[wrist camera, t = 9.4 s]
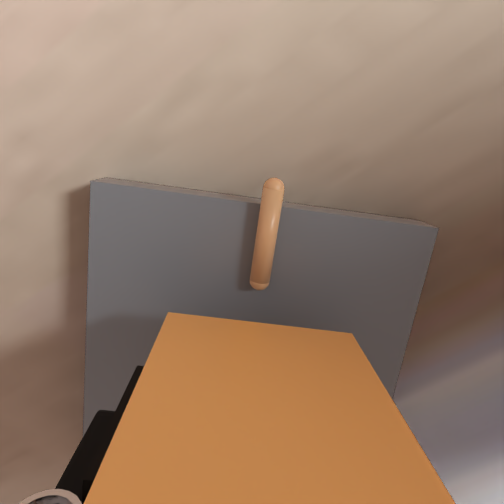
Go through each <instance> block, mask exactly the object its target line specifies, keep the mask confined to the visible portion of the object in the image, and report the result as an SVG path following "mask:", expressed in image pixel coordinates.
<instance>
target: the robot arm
mask: <svg viewBox="0 0 504 504" xmlns="http://www.w3.org/2000/svg"><path fill="white" fill-rule="evenodd" d="M143 368H144V366H139V365H138V366H137V367H136V369H135V371H134V373H133V375H132V377H131V379H130V381H129V383H128V385H127V387H126V390H125V392H124V394H123V396H122V398H121V400H120V402H119V404H118V406H117V409H116V411H109V410H99V411H98V412H97V413H96V415H95V416H94V418H93V420H92V422H91V424H90V425H89V427H88V429H87V431H86V433H85V435H84V436H83V438H82V440H81V442H80V444H79V446H78V447H77V449H76V451H75V453H74V455H73V457H72V459H71V460H70V462H69V464H68V466H67V468H66V470H65V471H64V473H63V475H62V477H61V479H60V481H59V482H58V484H57V486H56V488H55V489H48V490H44V491H41V492H37V493H35V494H33V495H31V496H29V497H27V498H25V499H24V500H22V501H21V502H20V503H19V504H84V502H85V500H86V497H87V495H88V493H89V490H90V488H91V486H92V484H93V481H94V479H95V477H96V475H97V472H98V470H99V468H100V465H101V463H102V461H103V459H104V456H105V454H106V452H107V450H108V447H109V445H110V443H111V441H112V438H113V436H114V434H115V431H116V429H117V427H118V425H119V422H120V420H121V418H122V416H123V413H124V411H125V409H126V406H127V404H128V402H129V400H130V397H131V395H132V393H133V391H134V388H135V386H136V384H137V382H138V379H139V377H140V375H141V372H142V370H143Z"/></svg>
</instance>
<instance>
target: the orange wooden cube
mask: <svg viewBox="0 0 504 504" xmlns="http://www.w3.org/2000/svg"><path fill="white" fill-rule="evenodd" d="M84 504H455V502H454V500H453V499H452V497H451V495H450V494H449V492H448V491H447V489H446V487H445V486H444V484H443V482H442V481H441V479H440V477H439V476H438V474H437V472H436V471H435V469H434V468H433V466H432V464H431V463H430V461H429V459H428V458H427V456H426V454H425V453H424V451H423V449H422V448H421V446H420V444H419V443H418V441H417V440H416V438H415V436H414V435H413V433H412V431H411V430H410V428H409V426H408V425H407V423H406V421H405V420H404V418H403V416H402V415H401V413H400V412H399V410H398V408H397V407H396V405H395V403H394V402H393V400H392V398H391V397H390V395H389V393H388V392H387V390H386V388H385V387H384V385H383V384H382V382H381V380H380V379H379V377H378V375H377V374H376V372H375V370H374V369H373V367H372V365H371V364H370V362H369V360H368V359H367V357H366V356H365V354H364V352H363V351H362V349H361V347H360V346H359V344H358V342H357V341H356V339H355V337H354V336H353V334H352V333H345V332H336V331H328V330H319V329H311V328H302V327H293V326H285V325H276V324H267V323H259V322H250V321H241V320H233V319H224V318H215V317H207V316H198V315H189V314H181V313H172V312H168V313H167V316H166V318H165V320H164V322H163V325H162V327H161V329H160V332H159V334H158V336H157V338H156V341H155V343H154V345H153V347H152V350H151V352H150V354H149V357H148V359H147V361H146V363H145V366H144V368H143V370H142V372H141V375H140V377H139V379H138V382H137V384H136V386H135V388H134V391H133V393H132V395H131V397H130V400H129V402H128V404H127V406H126V409H125V411H124V413H123V416H122V418H121V420H120V422H119V425H118V427H117V429H116V431H115V434H114V436H113V438H112V441H111V443H110V445H109V447H108V450H107V452H106V454H105V456H104V459H103V461H102V463H101V465H100V468H99V470H98V472H97V475H96V477H95V479H94V481H93V484H92V486H91V488H90V490H89V493H88V495H87V497H86V500H85V502H84Z"/></svg>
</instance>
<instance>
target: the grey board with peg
mask: <svg viewBox="0 0 504 504" xmlns="http://www.w3.org/2000/svg"><path fill="white" fill-rule="evenodd" d="M283 195H284V184H283V182H282V181H281V180H280V179H278V178H270V179H268V180H267V181H266V182H265V183H264V186H263V192H262V198H261V199H259V198H252V197H245V196H238V195H230V194H223V193H216V192H208V191H201V190H194V189H187V188H179V187H172V186H165V185H157V184H150V183H143V182H135V181H128V180H121V179H114V178H101V179H96V180H92V181H90V215H89V248H88V282H87V315H86V349H85V382H84V416H83V436H84V435H85V433H86V431H87V429H88V427H89V425H90V424H91V422H92V420H93V418H94V416H95V415H96V413H97V412H98V411H99V410H109V411H116V409H117V406H118V404H119V402H120V400H121V398H122V396H123V394H124V392H125V390H126V387H127V385H128V383H129V381H130V379H131V377H132V375H133V373H134V371H135V369H136V367H137V366H138V365H139V366H145V363H146V361H147V359H148V357H149V354H150V352H151V350H152V347H153V345H154V343H155V341H156V338H157V336H158V334H159V332H160V329H161V327H162V325H163V322H164V320H165V318H166V316H167V313H168V312H172V313H181V314H189V315H198V316H207V317H215V318H224V319H233V320H241V321H250V322H259V323H267V324H276V325H285V326H293V327H302V328H311V329H319V330H328V331H336V332H345V333H352V334H353V336H354V337H355V339H356V341H357V342H358V344H359V346H360V347H361V349H362V351H363V352H364V354H365V356H366V357H367V359H368V360H369V362H370V364H371V365H372V367H373V369H374V370H375V372H376V374H377V375H378V377H379V379H380V380H381V382H382V384H383V385H384V387H385V388H386V390H387V392H388V393H389V395H390V397H391V398H393V394H394V391H395V387H396V383H397V380H398V376H399V372H400V369H401V365H402V361H403V358H404V354H405V350H406V347H407V343H408V339H409V336H410V332H411V328H412V325H413V321H414V317H415V314H416V310H417V306H418V303H419V299H420V295H421V292H422V288H423V284H424V281H425V277H426V273H427V270H428V266H429V262H430V259H431V255H432V251H433V248H434V244H435V240H436V237H437V233H438V229H439V228H437V227H435V226H432V225H430V224H427V223H424V222H422V221H419V220H413V219H405V218H398V217H391V216H383V215H376V214H369V213H362V212H354V211H347V210H340V209H332V208H325V207H318V206H310V205H303V204H296V203H289V202H282V201H283Z"/></svg>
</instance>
